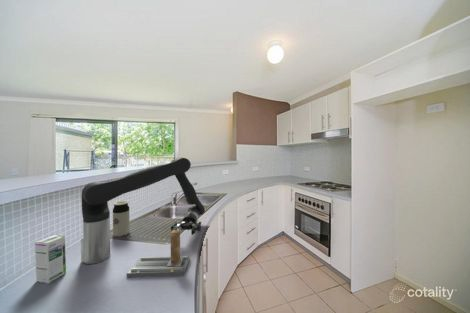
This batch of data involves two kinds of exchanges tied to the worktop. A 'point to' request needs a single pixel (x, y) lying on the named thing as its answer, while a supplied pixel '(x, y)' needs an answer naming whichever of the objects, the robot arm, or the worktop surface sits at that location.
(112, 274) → the worktop surface
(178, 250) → the fader tab
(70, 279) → the worktop surface
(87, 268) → the worktop surface
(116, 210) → the labelled jar
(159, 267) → the grey slider track base
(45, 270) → the syrup box
